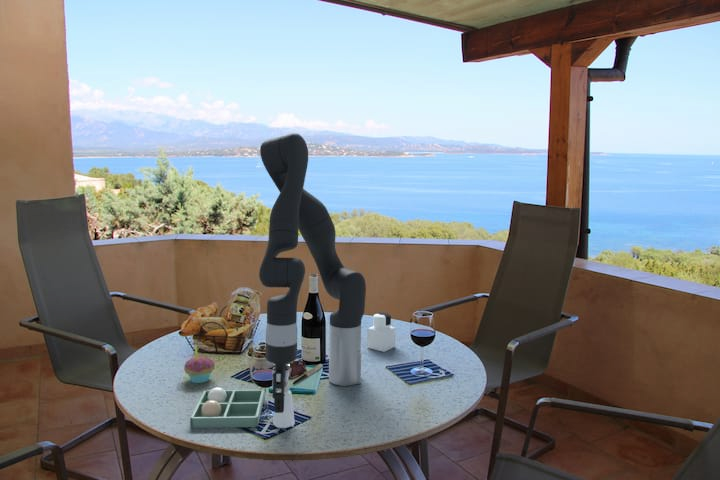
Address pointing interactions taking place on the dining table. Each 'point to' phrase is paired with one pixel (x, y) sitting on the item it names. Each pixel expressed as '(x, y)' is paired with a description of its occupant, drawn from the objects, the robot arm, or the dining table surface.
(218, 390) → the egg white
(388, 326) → the medicine bottle
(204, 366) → the cupcake
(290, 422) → the salt shaker
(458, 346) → the dining table surface
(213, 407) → the egg brown
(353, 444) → the dining table surface
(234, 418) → the egg tray
